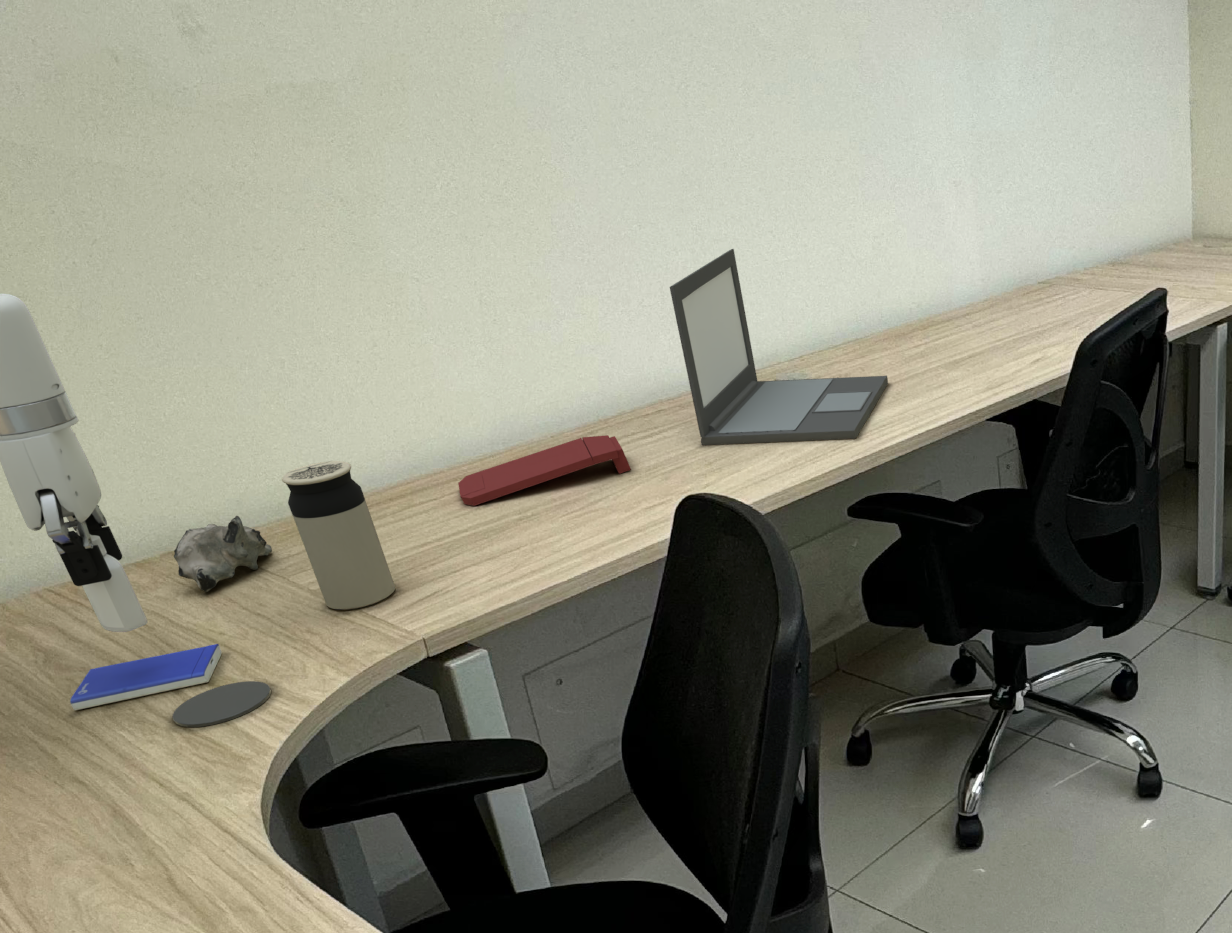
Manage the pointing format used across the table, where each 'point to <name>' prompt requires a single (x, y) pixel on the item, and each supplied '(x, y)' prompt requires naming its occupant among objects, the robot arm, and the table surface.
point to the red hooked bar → (541, 468)
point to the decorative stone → (218, 552)
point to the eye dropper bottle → (114, 597)
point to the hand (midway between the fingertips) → (99, 570)
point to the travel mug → (338, 535)
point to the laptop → (728, 375)
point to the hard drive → (146, 676)
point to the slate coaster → (221, 704)
